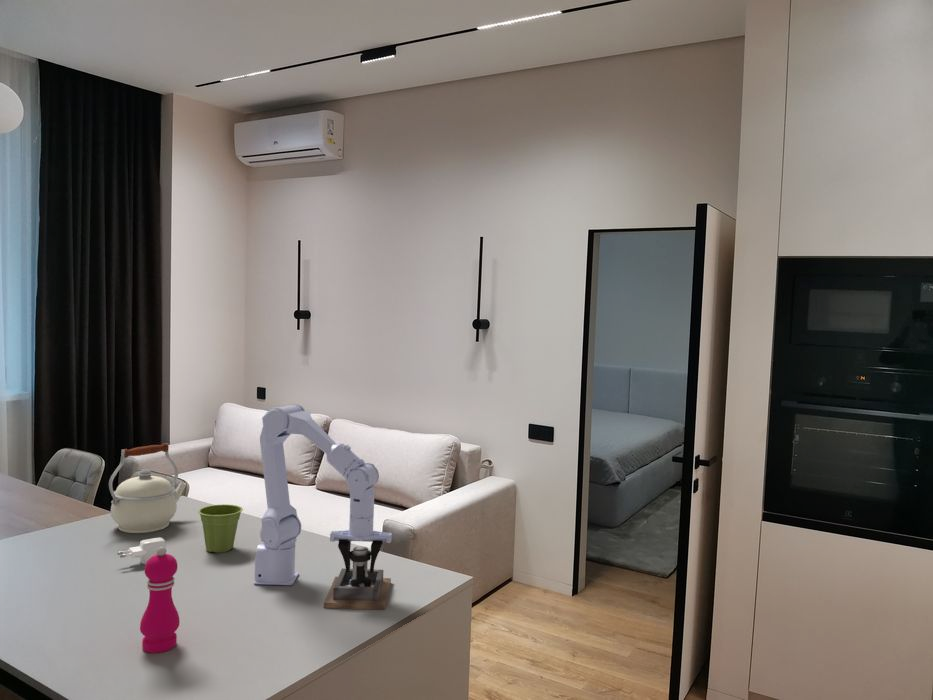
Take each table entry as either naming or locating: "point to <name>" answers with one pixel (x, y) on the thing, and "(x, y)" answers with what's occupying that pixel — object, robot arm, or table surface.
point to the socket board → (358, 592)
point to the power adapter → (145, 549)
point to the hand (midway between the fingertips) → (359, 570)
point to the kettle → (144, 496)
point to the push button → (360, 567)
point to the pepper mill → (160, 604)
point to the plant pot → (220, 526)
